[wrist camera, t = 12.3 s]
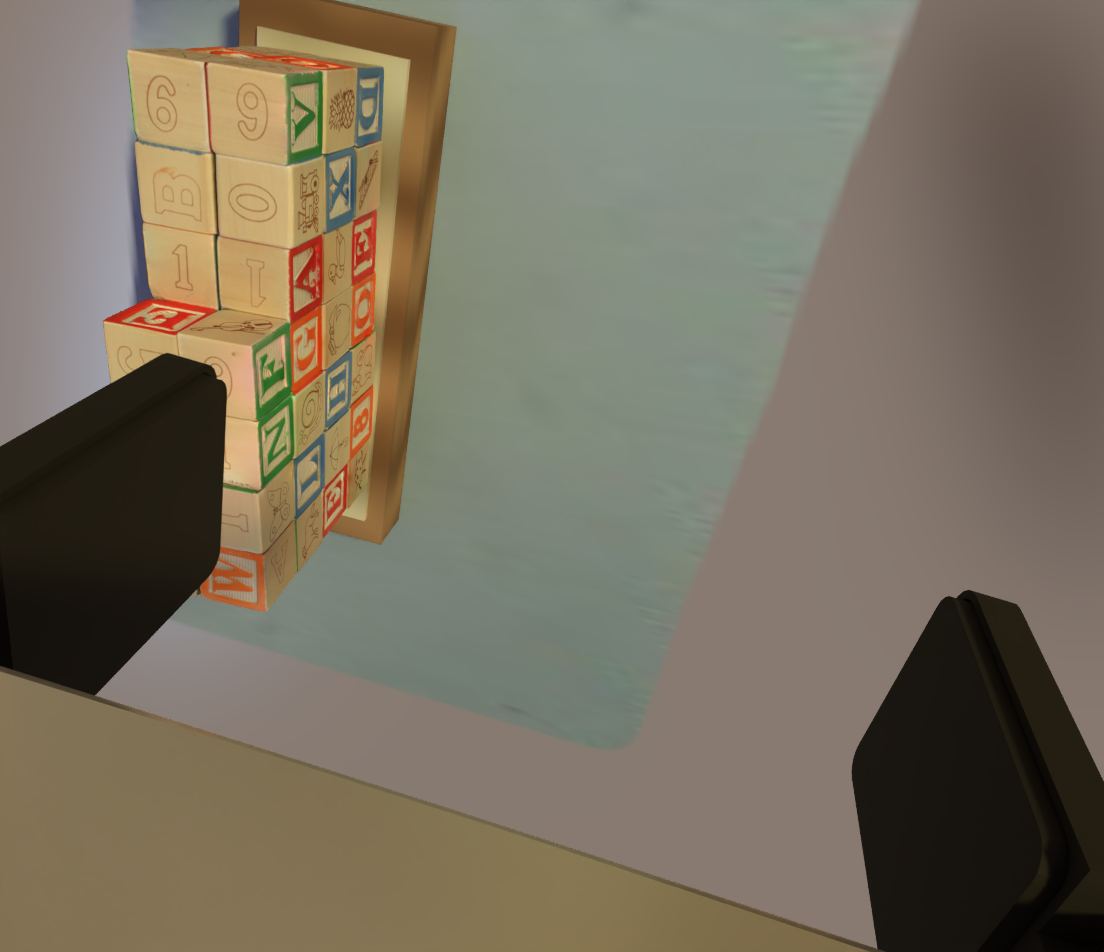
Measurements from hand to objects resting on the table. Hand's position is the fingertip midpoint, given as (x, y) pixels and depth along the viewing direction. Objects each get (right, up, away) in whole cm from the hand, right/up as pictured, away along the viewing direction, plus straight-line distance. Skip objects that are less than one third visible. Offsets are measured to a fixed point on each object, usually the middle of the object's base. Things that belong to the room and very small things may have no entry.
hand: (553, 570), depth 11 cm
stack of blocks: (-12, +11, +32) cm, 36 cm away
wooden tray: (-11, +11, +35) cm, 39 cm away
